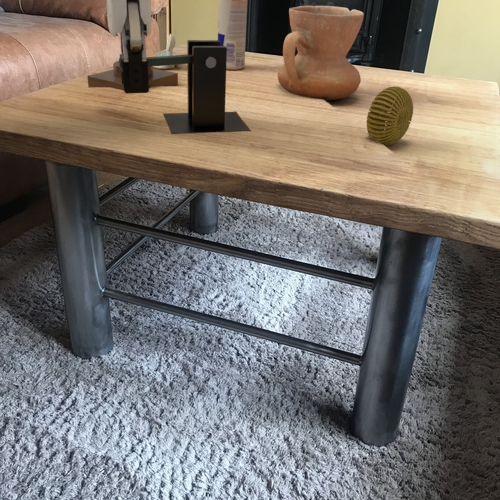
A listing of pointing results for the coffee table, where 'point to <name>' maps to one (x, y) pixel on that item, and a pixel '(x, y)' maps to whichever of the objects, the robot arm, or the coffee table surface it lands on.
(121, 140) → the coffee table surface
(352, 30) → the ceramic jug
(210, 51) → the switch bracket
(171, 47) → the pacifier
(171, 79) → the button block
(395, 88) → the sculpture
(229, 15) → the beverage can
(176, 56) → the switch lever
